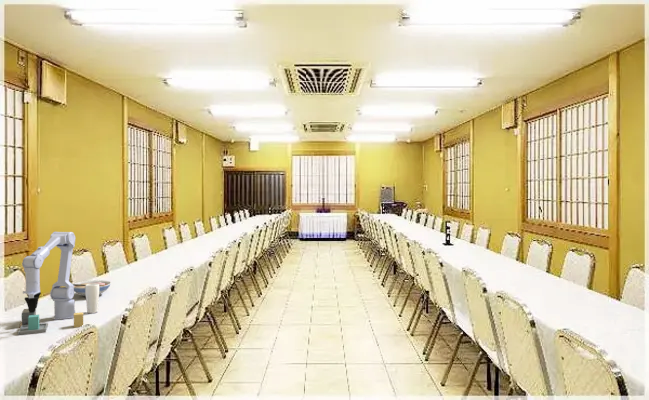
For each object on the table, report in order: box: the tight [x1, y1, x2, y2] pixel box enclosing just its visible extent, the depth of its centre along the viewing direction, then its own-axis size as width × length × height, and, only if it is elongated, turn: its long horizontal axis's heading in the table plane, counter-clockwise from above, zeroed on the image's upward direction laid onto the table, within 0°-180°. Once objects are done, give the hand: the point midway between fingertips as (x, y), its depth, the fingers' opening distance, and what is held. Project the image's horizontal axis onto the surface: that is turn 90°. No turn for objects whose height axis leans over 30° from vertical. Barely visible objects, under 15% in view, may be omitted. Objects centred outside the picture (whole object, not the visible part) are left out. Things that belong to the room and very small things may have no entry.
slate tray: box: [17, 322, 49, 336], centre depth 231 cm, size 11×11×2 cm
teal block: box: [28, 314, 40, 330], centre depth 231 cm, size 4×4×6 cm
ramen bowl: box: [72, 279, 112, 298], centre depth 304 cm, size 25×23×8 cm
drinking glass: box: [85, 283, 100, 314], centre depth 264 cm, size 7×7×15 cm
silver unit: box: [18, 308, 37, 329], centre depth 241 cm, size 7×10×7 cm
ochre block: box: [73, 312, 84, 328], centre depth 239 cm, size 4×4×6 cm
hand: (33, 310), depth 231 cm, fingers open, 7 cm apart
